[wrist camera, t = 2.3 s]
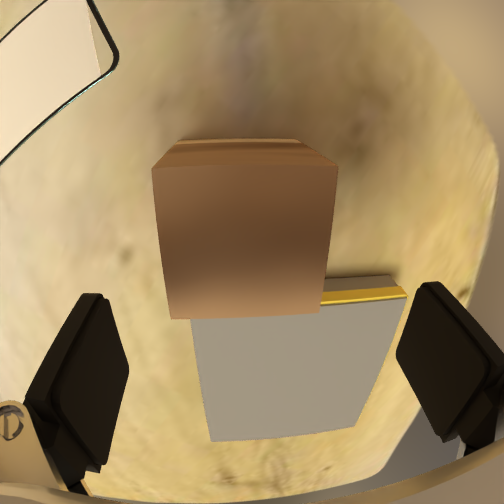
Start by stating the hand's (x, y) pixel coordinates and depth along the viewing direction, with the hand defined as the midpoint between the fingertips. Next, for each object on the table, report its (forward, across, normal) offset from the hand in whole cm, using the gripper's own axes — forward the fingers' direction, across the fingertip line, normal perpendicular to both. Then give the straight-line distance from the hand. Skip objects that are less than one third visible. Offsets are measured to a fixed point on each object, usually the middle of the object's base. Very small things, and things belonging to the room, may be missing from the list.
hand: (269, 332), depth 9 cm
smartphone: (+11, +16, -9) cm, 21 cm away
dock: (+11, -3, +13) cm, 17 cm away
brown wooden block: (+11, +1, -1) cm, 11 cm away
